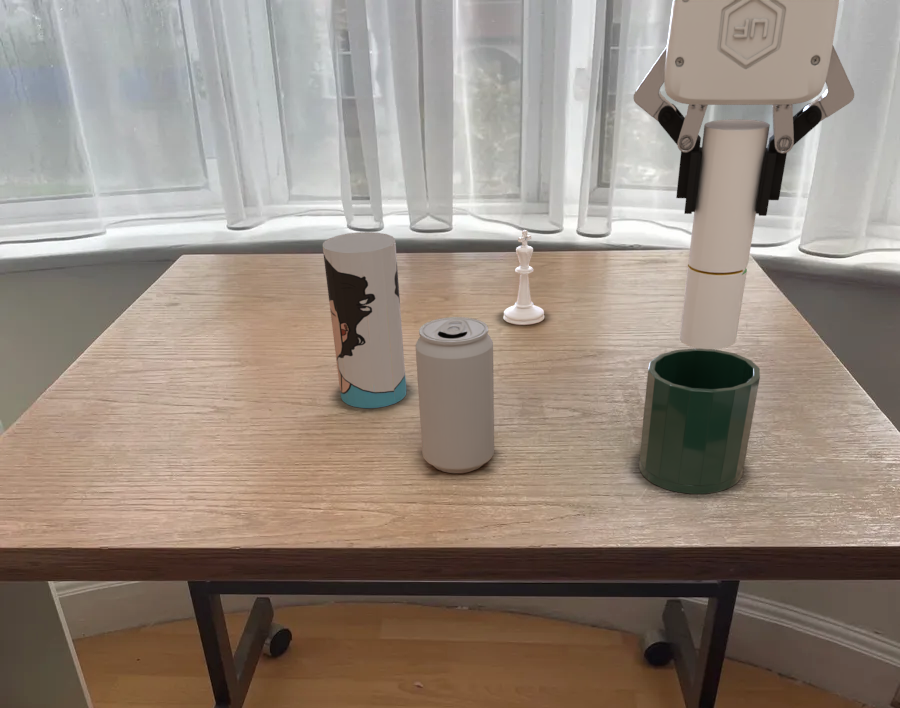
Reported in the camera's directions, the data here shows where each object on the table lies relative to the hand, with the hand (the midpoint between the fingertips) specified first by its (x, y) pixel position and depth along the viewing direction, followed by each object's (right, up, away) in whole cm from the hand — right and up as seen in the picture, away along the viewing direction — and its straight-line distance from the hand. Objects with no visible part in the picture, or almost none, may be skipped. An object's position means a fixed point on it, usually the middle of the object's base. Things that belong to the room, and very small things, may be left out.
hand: (725, 207), depth 64 cm
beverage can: (-19, -16, +16) cm, 29 cm away
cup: (-28, -7, +28) cm, 40 cm away
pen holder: (+1, -17, +13) cm, 21 cm away
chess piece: (-11, +6, +44) cm, 45 cm away
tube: (0, -8, +6) cm, 10 cm away
